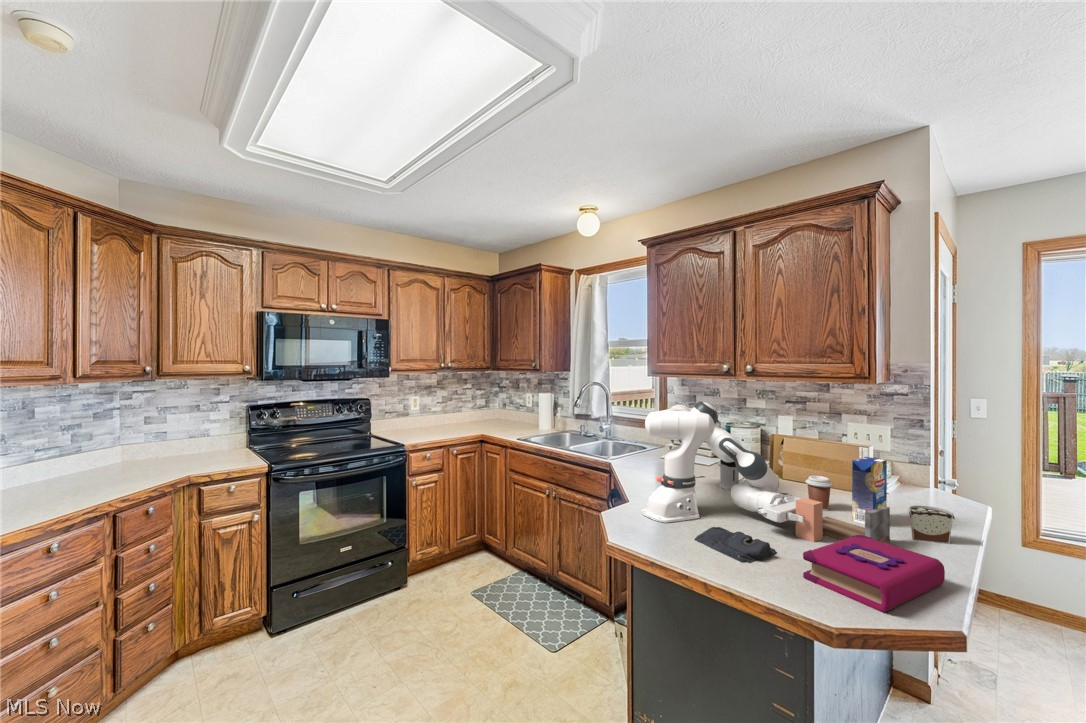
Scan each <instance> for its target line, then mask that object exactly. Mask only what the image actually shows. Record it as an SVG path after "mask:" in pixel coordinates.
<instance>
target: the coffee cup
mask: <svg viewBox="0 0 1086 723" xmlns="http://www.w3.org/2000/svg"><path fill="white" fill-rule="evenodd" d="M805 484H806V485H807V492H808V499H811V500H815V501H819V502H822V503H823V512H826V511H829V507H830V495H831V488H832V487H833V482H832V481H831V480H830V478H829V477H826V476H822V475H809V476H808V478H807V479H805Z"/></svg>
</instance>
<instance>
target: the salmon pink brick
mask: <svg viewBox="0 0 1086 723" xmlns="http://www.w3.org/2000/svg"><path fill="white" fill-rule="evenodd" d="M823 512H824V511H823V503H822V502H819V501H815V500H811V499H809V497H807V498H806V497H802V499H798V500H796V515H802V516H805V521H804V522H800V521H795V536H796V537H798V538H802V539H804V540H807V541H810V542H813V543H814V542H818V541H821V540H823V536H824V534H823Z"/></svg>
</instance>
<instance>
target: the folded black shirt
mask: <svg viewBox="0 0 1086 723" xmlns="http://www.w3.org/2000/svg"><path fill="white" fill-rule="evenodd" d="M694 541H695V542H697V543H700V544H703V545H704V546H706V547H707V548H710V549H712V550H714V551H717V552H719V553H721V554H723V555H724V556H727V557H729V558H731V559H734V560H736V562H737V561H738V562H740V563H747V564H753V563H755V562H758V561H761V562H762V561H765V560H767V559H770V558H771V557H773V556H774V554H776V553H777V550H776V549H775V548H773V547H771V544H770V543H769V542H768V541H767V542H766V541H764V540H762V539H759V538H754V539H753V536H751V535H749V534H745V533H744V532H742V531H735V532H732V531H730V530H729V529H727V528H723V527H721V526H716V527H715V526H712V527H710V528H708V529H707V530H705V531H703V532H702V533H700V534H699V535H697V536H695V538H694Z"/></svg>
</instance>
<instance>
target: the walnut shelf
mask: <svg viewBox="0 0 1086 723" xmlns="http://www.w3.org/2000/svg"><path fill="white" fill-rule="evenodd" d="M890 509H891V508H890V506H887V507H886V506H883V507H880V508H877V509H874V510H871V511H868V512H865V524H864V526H860V525H857V524H854V523H853V524H852V523H849V522H846V521H843V520H839V519H835V518H832V517H829V516H824V517H823V535H826V536H829V537H832V538H835V539H838V540H840V541H841V540H844V539H847V538H850V537H852V536H855V535H864V536H867V537H870V538H872V539H875V540H878V541H881V542H884V543H887V544H888V543H889V542H891V541H890V538H891V537H890V535H891V533H890V531H891V530H890V528H891V519H890V518H891V517H890V516H891V515H890V513H891V511H890Z"/></svg>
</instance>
